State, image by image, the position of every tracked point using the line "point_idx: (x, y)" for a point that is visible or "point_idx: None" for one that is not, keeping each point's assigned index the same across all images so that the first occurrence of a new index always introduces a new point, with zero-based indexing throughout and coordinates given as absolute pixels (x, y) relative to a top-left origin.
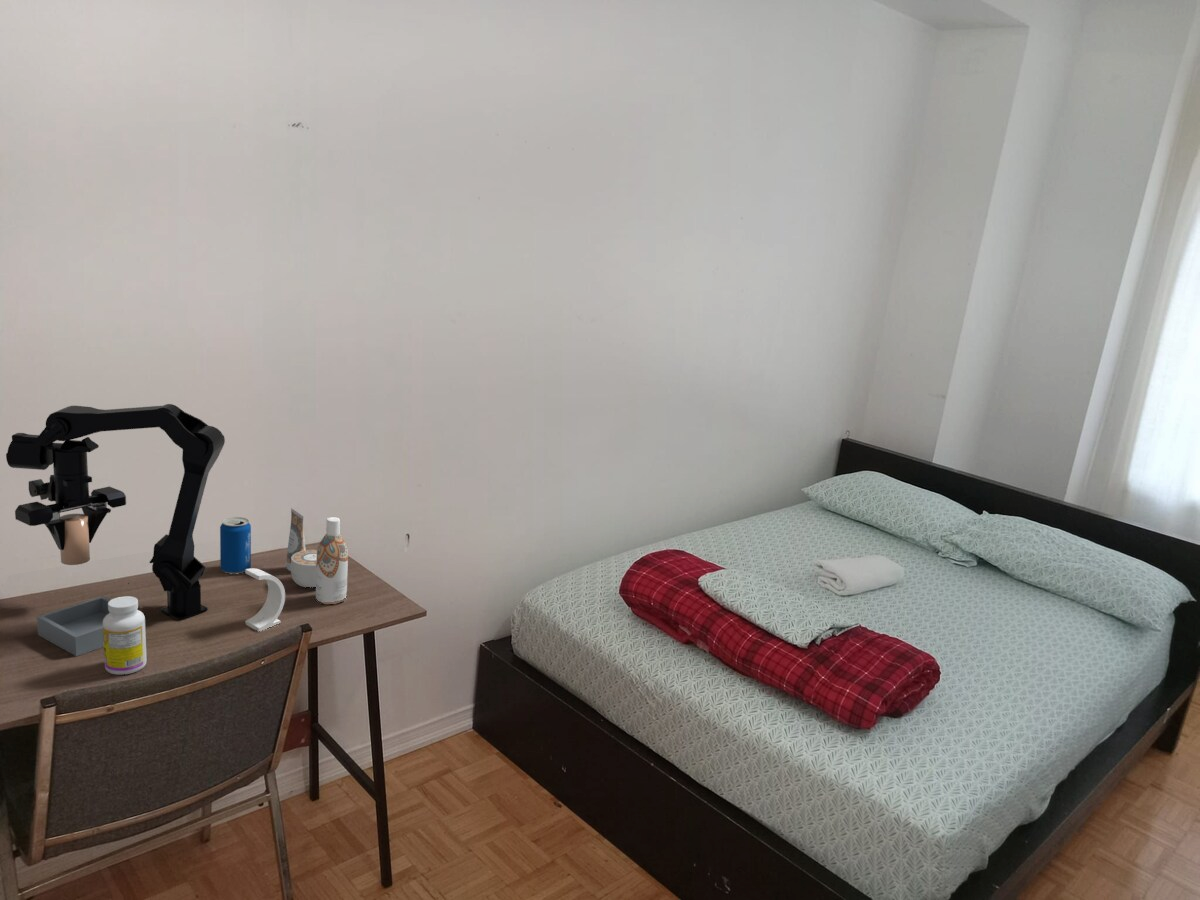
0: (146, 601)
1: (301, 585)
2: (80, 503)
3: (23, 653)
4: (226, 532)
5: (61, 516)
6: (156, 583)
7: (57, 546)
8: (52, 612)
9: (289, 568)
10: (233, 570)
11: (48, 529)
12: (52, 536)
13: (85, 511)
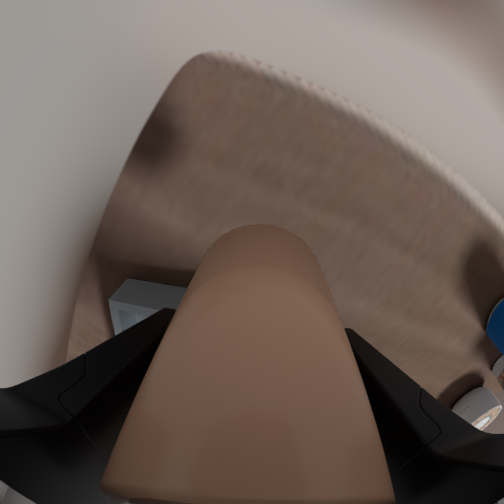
0: (358, 315)
1: (452, 409)
2: None
3: (92, 311)
4: None
5: (160, 492)
6: (436, 258)
7: (155, 313)
8: (137, 310)
9: (496, 368)
10: (488, 334)
11: (48, 374)
12: (100, 346)
13: (440, 498)
